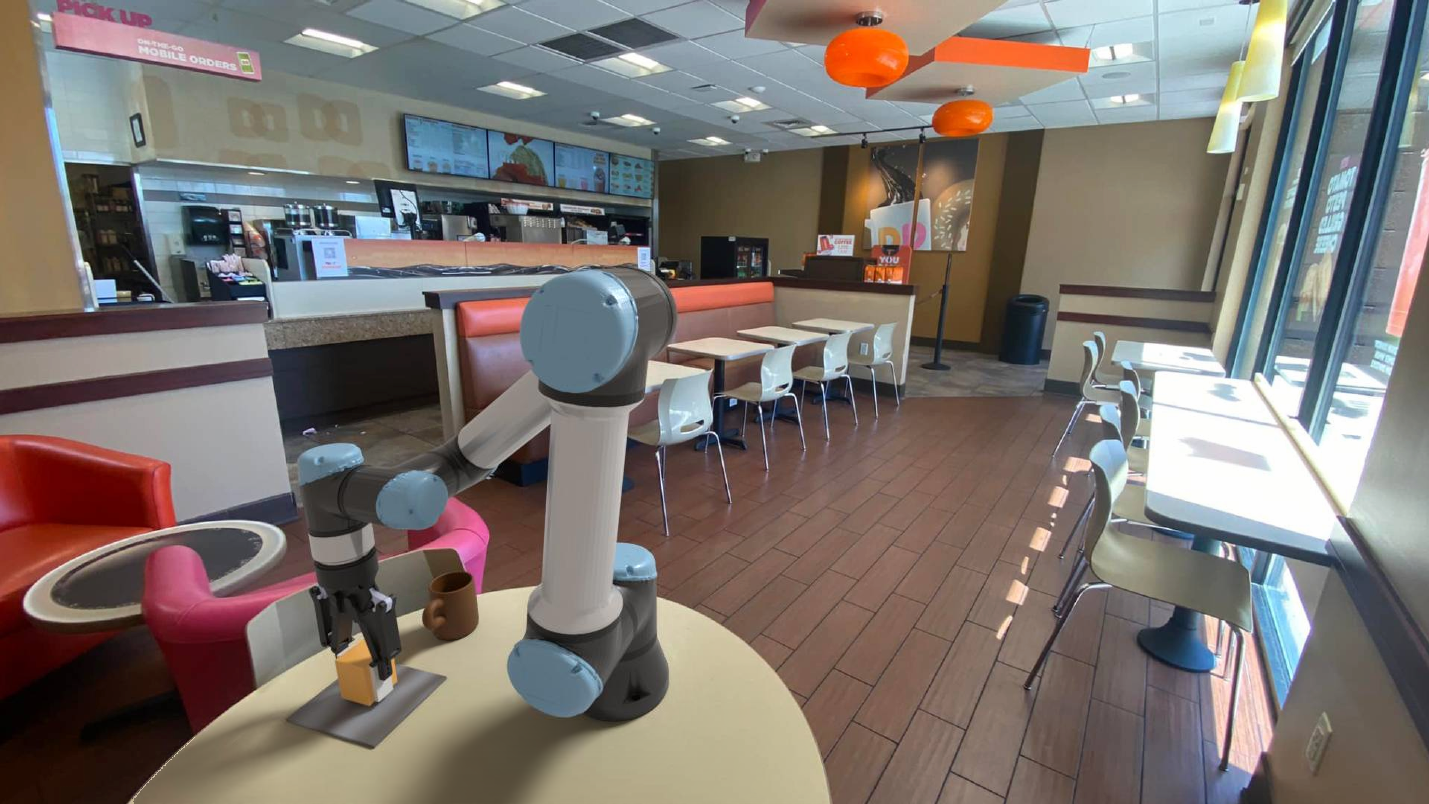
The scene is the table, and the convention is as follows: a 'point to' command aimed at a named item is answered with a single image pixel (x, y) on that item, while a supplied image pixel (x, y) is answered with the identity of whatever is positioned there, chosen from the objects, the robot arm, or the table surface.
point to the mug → (452, 605)
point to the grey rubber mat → (367, 708)
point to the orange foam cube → (357, 674)
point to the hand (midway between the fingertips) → (368, 690)
